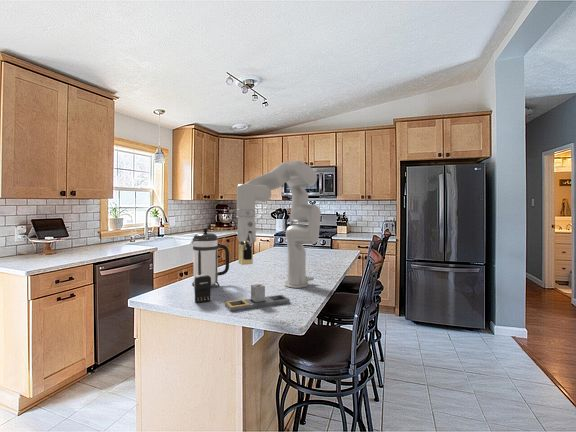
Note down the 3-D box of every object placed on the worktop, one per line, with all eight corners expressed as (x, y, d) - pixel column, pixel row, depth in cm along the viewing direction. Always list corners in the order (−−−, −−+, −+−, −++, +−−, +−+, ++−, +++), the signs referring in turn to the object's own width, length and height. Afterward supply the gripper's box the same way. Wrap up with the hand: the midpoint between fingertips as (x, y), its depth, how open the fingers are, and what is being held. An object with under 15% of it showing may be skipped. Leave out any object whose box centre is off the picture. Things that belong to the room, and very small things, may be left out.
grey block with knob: (260, 302, 138) (260, 283, 138) (264, 305, 134) (264, 286, 134) (251, 303, 136) (251, 284, 136) (254, 306, 132) (254, 287, 132)
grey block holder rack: (281, 298, 144) (281, 294, 144) (289, 303, 137) (289, 298, 137) (225, 305, 133) (225, 301, 133) (230, 311, 126) (230, 307, 126)
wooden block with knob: (248, 262, 135) (248, 243, 135) (252, 264, 131) (252, 244, 131) (238, 263, 133) (238, 243, 133) (242, 264, 129) (242, 244, 129)
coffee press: (212, 291, 156) (212, 229, 155) (184, 288, 161) (184, 228, 160) (229, 283, 172) (229, 227, 171) (204, 280, 177) (203, 226, 176)
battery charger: (195, 304, 135) (195, 277, 135) (193, 301, 139) (193, 275, 138) (212, 301, 139) (212, 275, 138) (210, 299, 142) (209, 273, 142)
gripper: (262, 214, 126) (261, 261, 126) (247, 214, 141) (247, 255, 141) (244, 214, 122) (243, 262, 123) (230, 213, 137) (230, 256, 138)
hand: (245, 258), depth 132 cm, fingers closed on wooden block with knob, 4 cm apart
